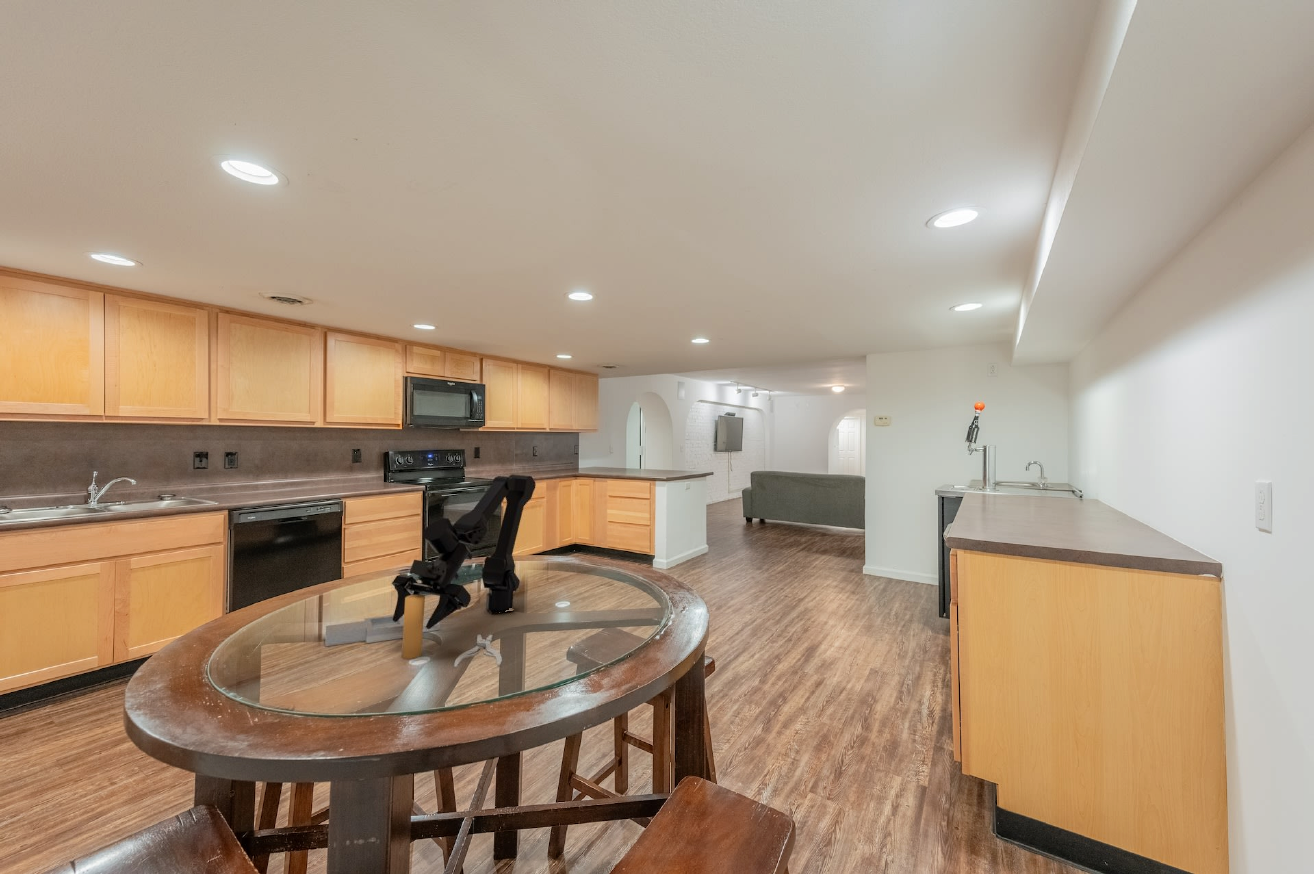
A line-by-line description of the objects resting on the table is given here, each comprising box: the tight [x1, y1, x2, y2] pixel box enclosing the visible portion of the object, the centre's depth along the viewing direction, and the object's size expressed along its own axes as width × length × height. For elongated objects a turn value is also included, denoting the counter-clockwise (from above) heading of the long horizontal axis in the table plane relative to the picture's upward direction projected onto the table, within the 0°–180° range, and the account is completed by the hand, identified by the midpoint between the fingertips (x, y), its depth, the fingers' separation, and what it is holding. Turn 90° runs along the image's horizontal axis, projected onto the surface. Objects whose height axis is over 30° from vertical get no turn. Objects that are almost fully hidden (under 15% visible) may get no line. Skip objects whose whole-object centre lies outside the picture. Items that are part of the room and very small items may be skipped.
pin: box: [401, 594, 426, 660], centre depth 115 cm, size 4×4×13 cm
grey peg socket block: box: [324, 614, 441, 647], centre depth 126 cm, size 24×8×3 cm, turn 123°
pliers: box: [453, 634, 503, 669], centre depth 119 cm, size 10×2×15 cm
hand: (410, 624), depth 114 cm, fingers open, 9 cm apart
